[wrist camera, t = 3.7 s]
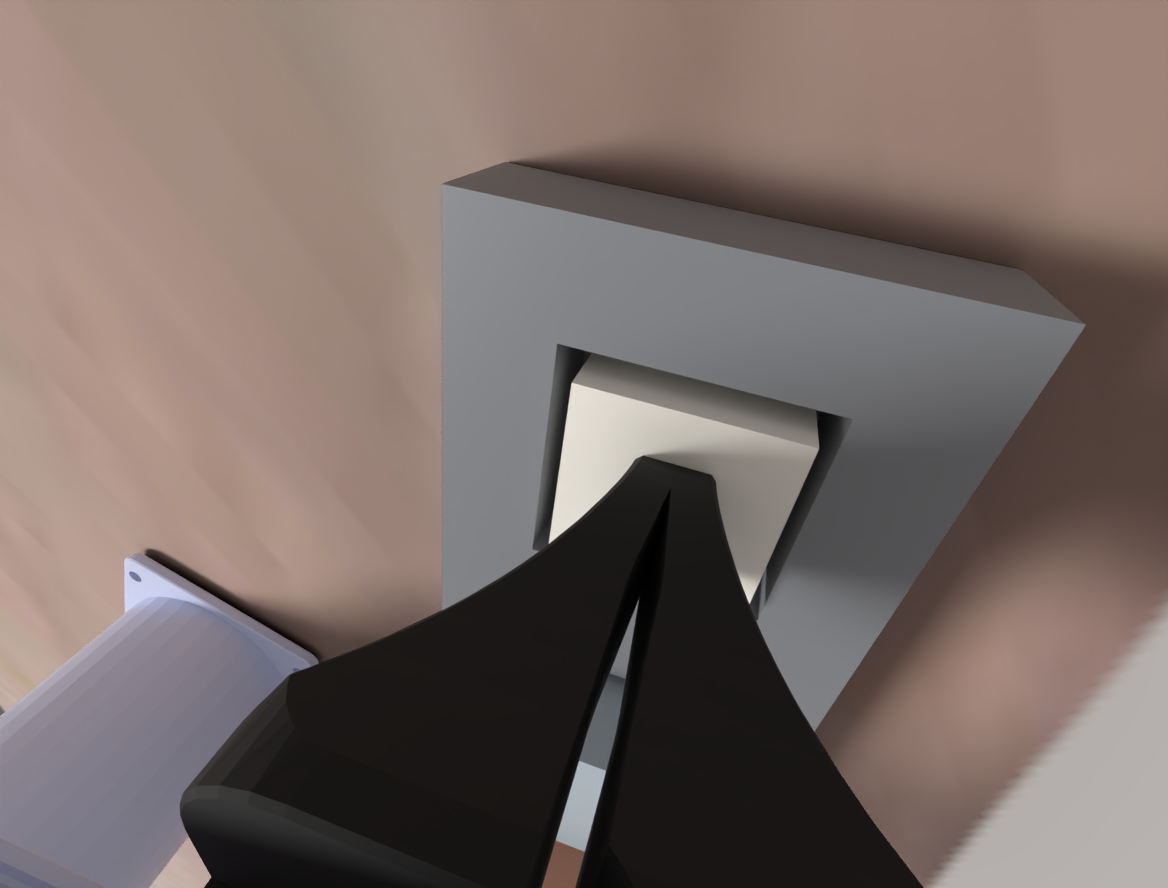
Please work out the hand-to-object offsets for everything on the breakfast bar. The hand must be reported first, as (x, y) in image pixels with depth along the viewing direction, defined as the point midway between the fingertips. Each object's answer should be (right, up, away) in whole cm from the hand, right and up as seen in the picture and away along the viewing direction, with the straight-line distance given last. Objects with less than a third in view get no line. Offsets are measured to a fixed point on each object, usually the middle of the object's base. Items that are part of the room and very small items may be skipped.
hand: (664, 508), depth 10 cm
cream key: (+1, +1, +2) cm, 2 cm away
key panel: (0, -5, +7) cm, 9 cm away
